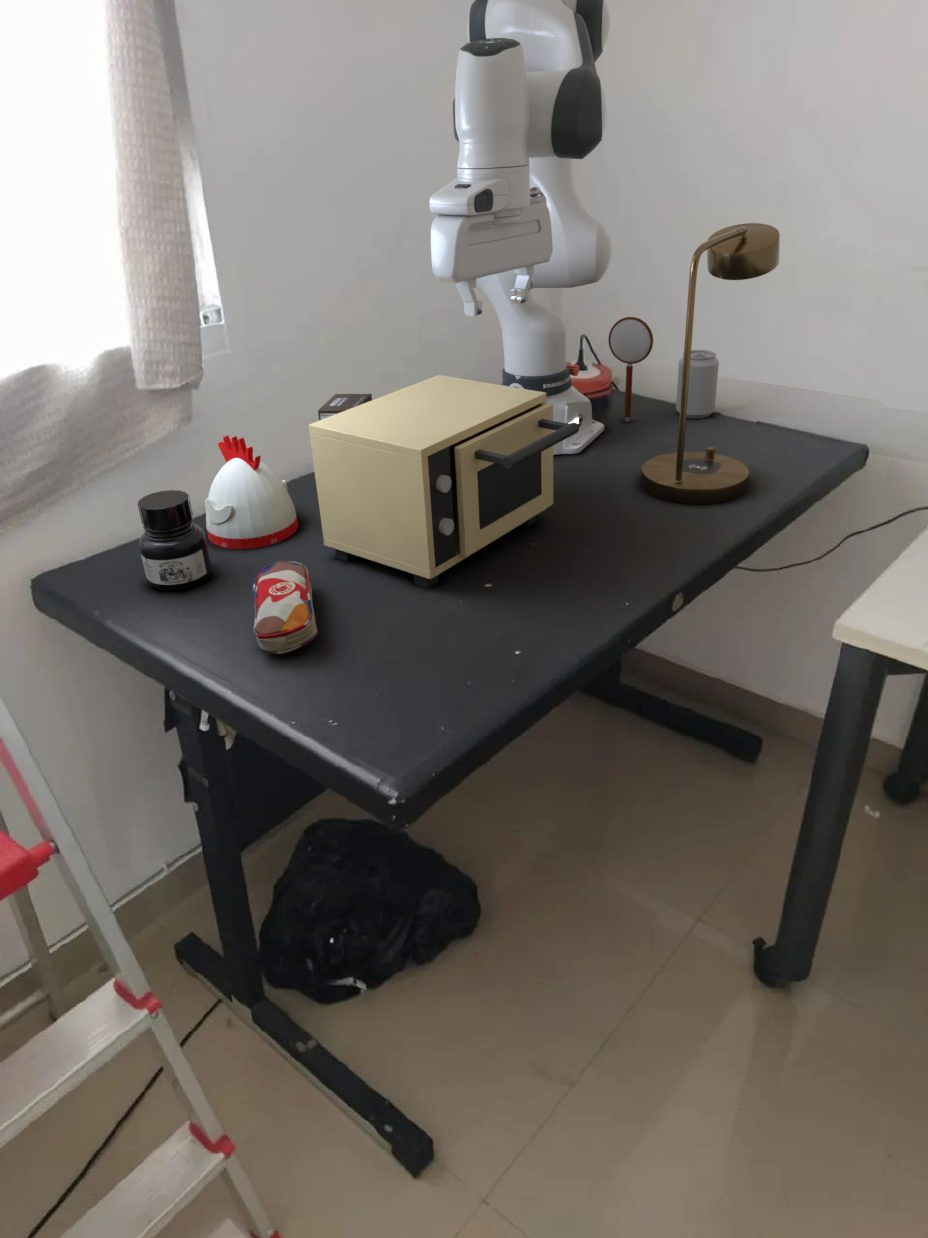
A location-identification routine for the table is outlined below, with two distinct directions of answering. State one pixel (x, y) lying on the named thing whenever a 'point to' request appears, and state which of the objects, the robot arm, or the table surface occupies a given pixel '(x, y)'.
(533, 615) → the table surface
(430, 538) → the oven
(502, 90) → the robot arm
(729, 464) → the lamp
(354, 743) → the table surface
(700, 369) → the can
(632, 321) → the magnifying glass
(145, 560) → the ink bottle
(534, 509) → the oven door
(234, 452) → the kitchen timer
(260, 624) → the pencil case
